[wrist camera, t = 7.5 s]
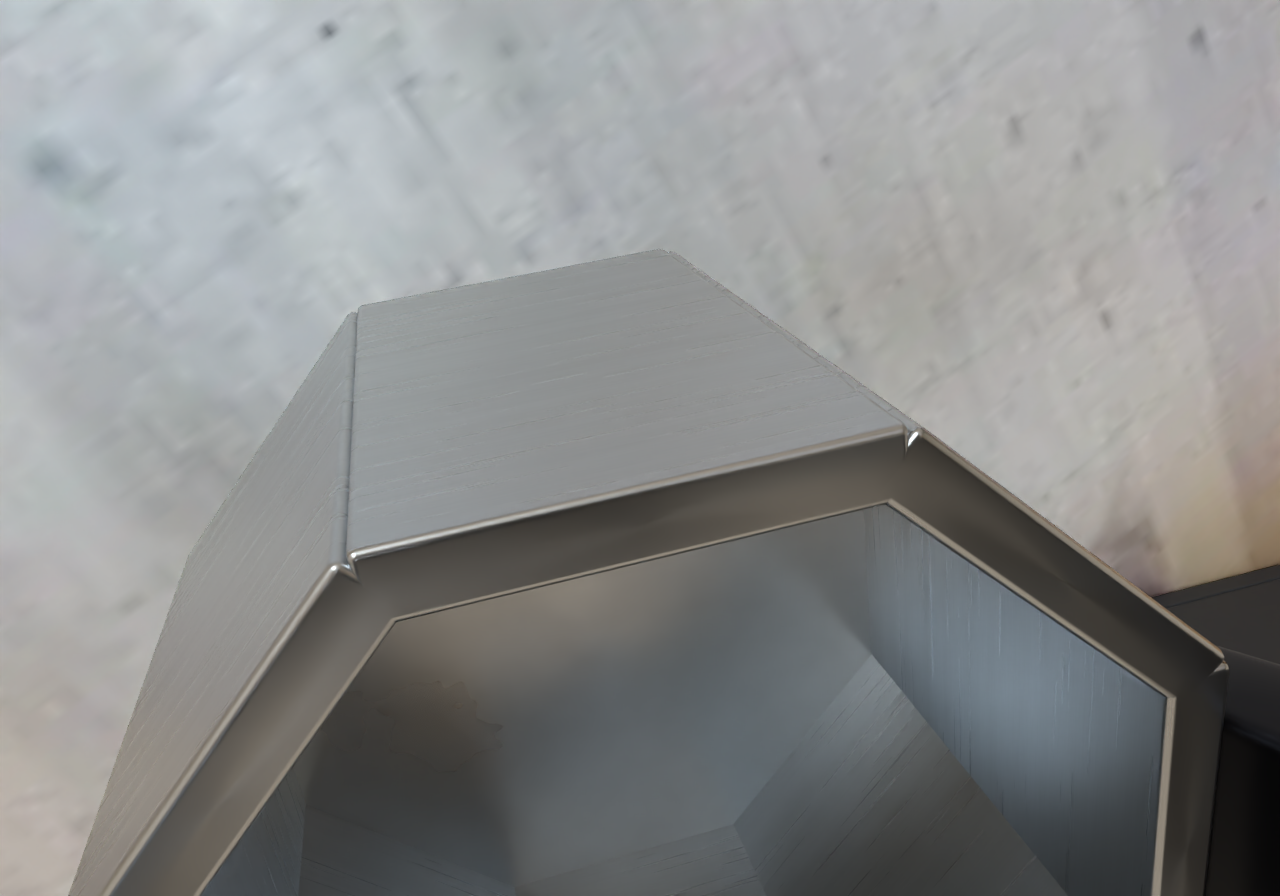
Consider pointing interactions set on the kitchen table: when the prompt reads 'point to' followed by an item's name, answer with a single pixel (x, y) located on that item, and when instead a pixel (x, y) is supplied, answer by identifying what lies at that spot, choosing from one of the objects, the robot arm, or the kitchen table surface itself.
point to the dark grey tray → (1234, 612)
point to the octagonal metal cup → (644, 635)
